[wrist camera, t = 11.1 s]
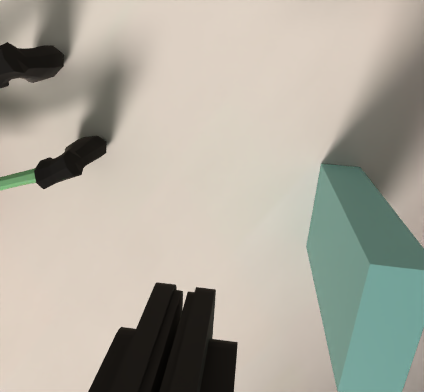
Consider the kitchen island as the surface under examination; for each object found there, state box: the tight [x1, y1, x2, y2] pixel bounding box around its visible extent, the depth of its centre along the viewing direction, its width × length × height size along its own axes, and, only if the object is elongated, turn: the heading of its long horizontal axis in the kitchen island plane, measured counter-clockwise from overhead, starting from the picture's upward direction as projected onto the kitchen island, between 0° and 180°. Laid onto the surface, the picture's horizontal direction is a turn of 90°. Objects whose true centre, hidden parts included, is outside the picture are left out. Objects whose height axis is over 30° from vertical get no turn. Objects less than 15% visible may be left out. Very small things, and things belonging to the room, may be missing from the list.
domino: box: [306, 164, 424, 392], centre depth 17 cm, size 5×2×10 cm, turn 176°
